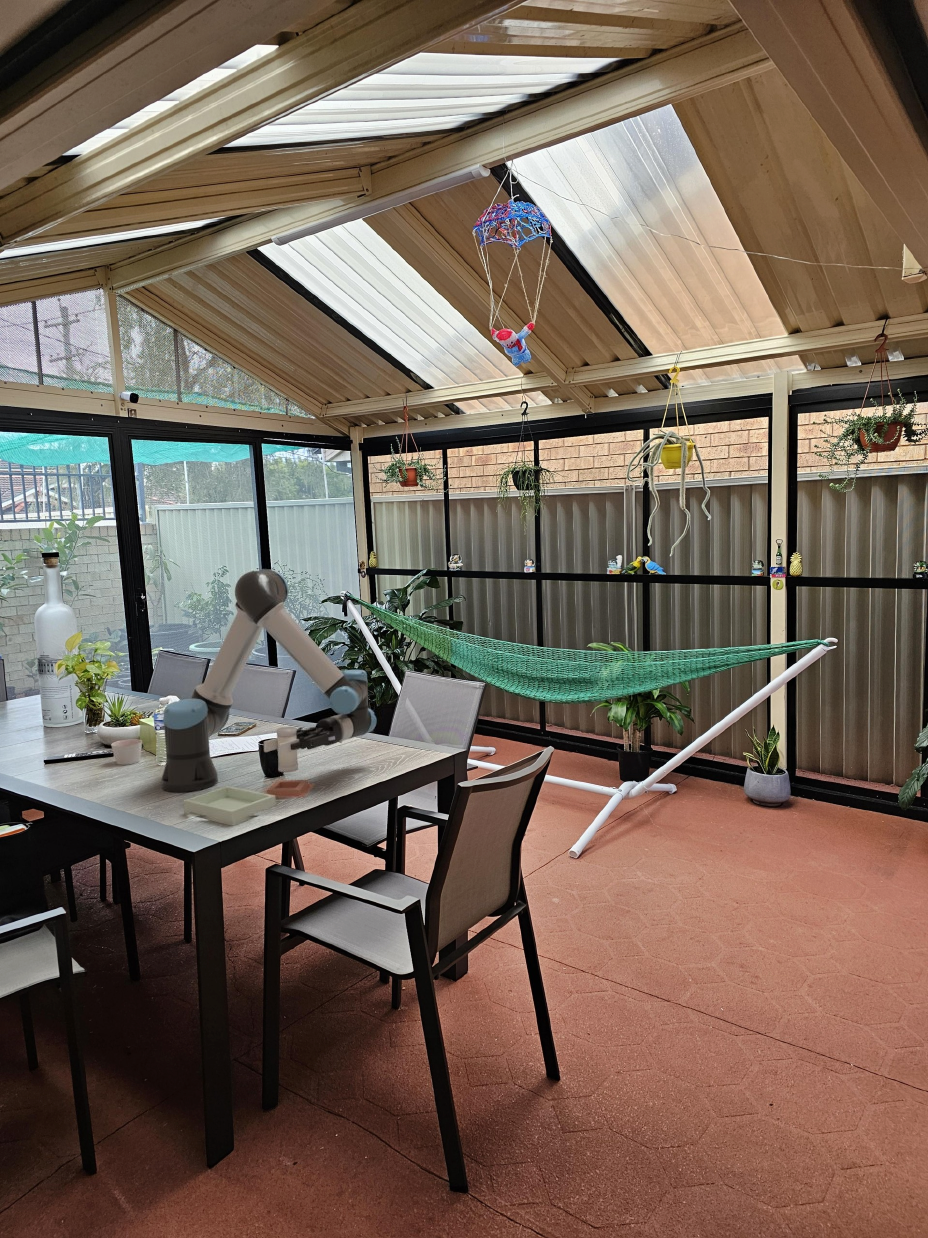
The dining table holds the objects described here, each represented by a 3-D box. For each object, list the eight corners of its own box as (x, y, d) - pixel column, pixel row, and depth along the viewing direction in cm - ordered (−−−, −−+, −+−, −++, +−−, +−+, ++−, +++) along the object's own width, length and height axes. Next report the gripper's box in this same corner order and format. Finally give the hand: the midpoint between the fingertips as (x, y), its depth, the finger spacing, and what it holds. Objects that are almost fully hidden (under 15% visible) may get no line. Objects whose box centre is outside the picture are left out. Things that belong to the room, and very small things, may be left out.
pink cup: (148, 758, 268) (146, 739, 267) (136, 766, 259) (134, 746, 258) (120, 759, 268) (119, 739, 268) (107, 766, 259) (106, 746, 259)
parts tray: (184, 814, 211) (183, 800, 210) (228, 798, 222) (227, 785, 222) (232, 825, 201) (232, 811, 201) (276, 809, 212) (275, 795, 212)
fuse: (276, 772, 222) (274, 731, 221) (281, 766, 227) (279, 727, 226) (295, 772, 221) (293, 731, 220) (300, 766, 226) (298, 726, 225)
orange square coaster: (259, 801, 219) (259, 792, 219) (272, 787, 231) (272, 778, 231) (304, 800, 218) (304, 791, 218) (315, 787, 230) (315, 778, 230)
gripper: (357, 746, 234) (297, 766, 214) (310, 739, 244) (249, 757, 224) (356, 720, 233) (296, 738, 214) (309, 714, 243) (248, 730, 224)
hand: (272, 748), depth 219 cm, fingers closed on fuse, 5 cm apart
